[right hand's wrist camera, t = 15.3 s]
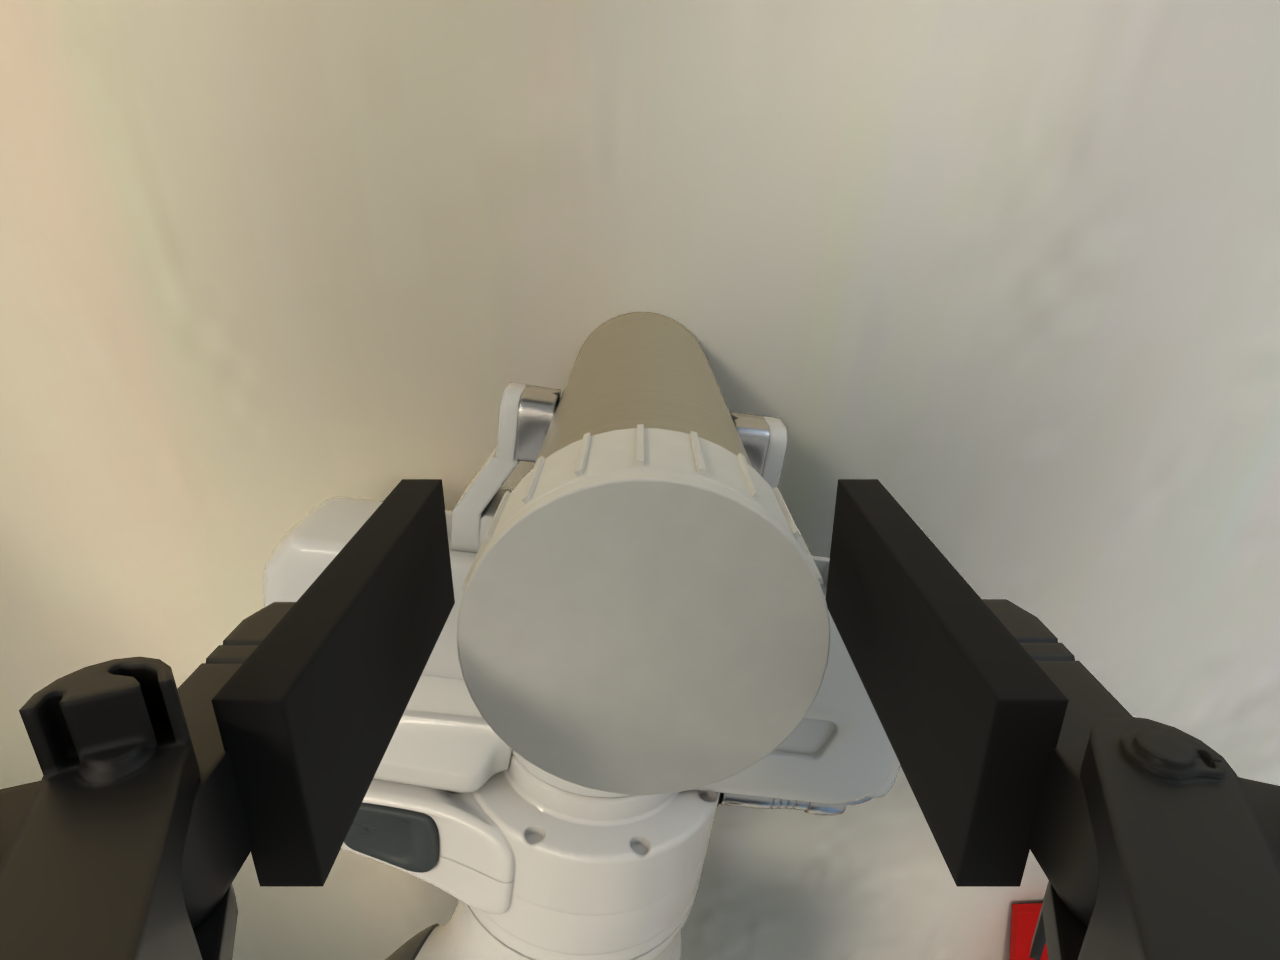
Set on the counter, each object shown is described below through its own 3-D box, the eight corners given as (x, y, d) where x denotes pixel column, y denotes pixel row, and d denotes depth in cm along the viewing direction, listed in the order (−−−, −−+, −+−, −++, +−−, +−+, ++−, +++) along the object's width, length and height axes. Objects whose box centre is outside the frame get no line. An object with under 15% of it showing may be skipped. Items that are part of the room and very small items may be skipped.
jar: (699, 300, 25) (790, 456, 10) (718, 433, 27) (821, 741, 12) (560, 325, 26) (439, 513, 10) (588, 455, 27) (522, 782, 12)
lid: (783, 396, 12) (818, 443, 9) (813, 680, 14) (847, 773, 11) (447, 453, 12) (404, 511, 10) (526, 721, 14) (504, 819, 12)
